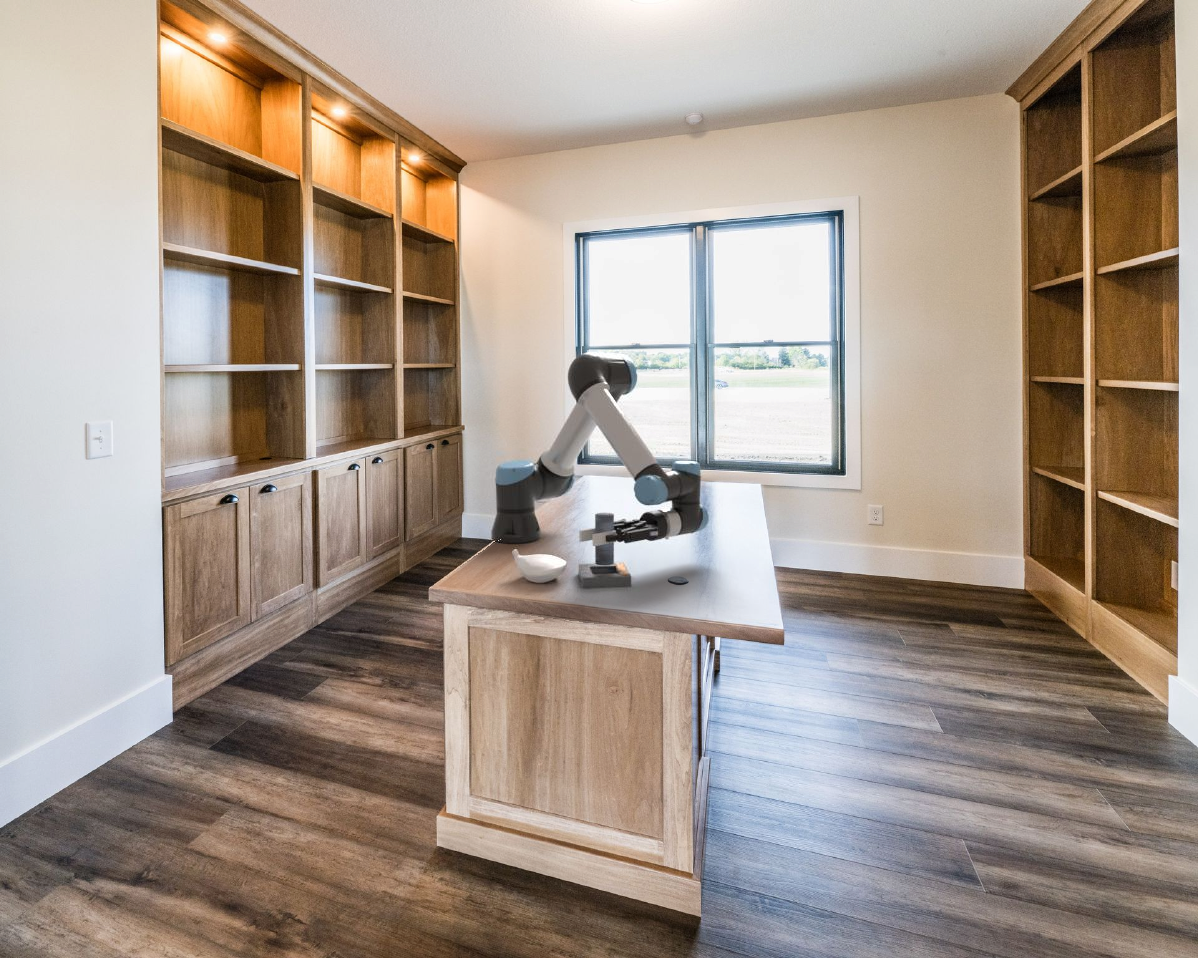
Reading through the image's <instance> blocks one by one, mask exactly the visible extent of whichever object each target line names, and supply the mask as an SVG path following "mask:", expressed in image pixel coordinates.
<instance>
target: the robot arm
mask: <svg viewBox="0 0 1198 958" xmlns="http://www.w3.org/2000/svg"><path fill="white" fill-rule="evenodd" d="M567 371H568V372H567V383H568V387H569V390H570V392H571V395H572V396H573V398H574V400H575V401H576V403H575V405H574V407H573V408H572V410H571V412H570V413H569V416H568V417H567V419H566V421H565V422H564V424H563V426H562V428H561V429H560V431H559V432H558V434H557V437H556V438H555V440H554V442H553V443H552V445H551V446H550V449H549V450H545V451H543V452H542V453H541V454H540V456H539V458H538V460H537V461H536V463H535V462H533V460H527V459H518V460H510V461H506V462H504V463H501V464H499V465H498V466H497V468H496V470H495V479H494V480H495V481H494V482H495V499H496V502H495V504H496V514H495V518H494V520H493V525H492V528H491V532H490V533H491V534H490V535H491V540H492V541H495V542H497V543H502V544H525V543H531V542H534V541H537V540H540V539H541V537H542V536H541V535H542V534H541V533H542V532H541V527H540V524H539V520H538V518H537V516H536V511H535V509H536V508H535V506H536V505H535V503H536V502H537V501H542V500H548V499H554V498H559V497H561V496H564V495H566V494H567V493H568V492H570V491H571V489H572V488H573V487H574V484H575V478H574V477H575V466H574V463H575V461H576V460H577V459H578V457H579V455H580V453H581V452H582V450H583V449H584V446H585V445H586V444H587V442H588V441H589V439H590V437H591V436H592V434H593V432H594V430H595V429H596V427H598V429H599V430H600V432H601V433H602V435H603V437H604V438H605V439H606V441H607V442H608V443H609V446H610V447H611V449H612V450H614V452H615V454H616V455H617V457H618V458H619V460H620V462H621V463H622V464H623V466H624V467H625V468H626V470H627V471H628V473H629V475H630V476H631V478H632V479H633V481H634V485H633V492H634V497H635V499H636V500H637V501H638V502H639V503H640V504H642V505H643V506H658V505H661V504H664V503H668V502H671V507H667V508H662V509H657V510H652V511H651V510H650V511H645V512H643V513H642V515H641V516H640V518H639V519H632V520H628V521H627V519H626V518H622V519H619V520H614V530H613V531H608V532H603V533H597V534H595V527H591V528H586V529H580V530H579V532H578V533H579V535H578V536H579V539H578V540H579V541H578V542H580V543H583V542H589V541H591V542H592V543H591V544H592V546H593V547H595V546H598V545H603V544H608V543H613V542H614V543H616V542H618V543H622V542H623V543H624V544H630V543H636V542H640V541H645V540H647V541H648V542H654V541H658V540H663V539H665V540H669V538H673V537H677V536H682V535H688V534H694V533H697V532H699V531H702V530H705V528H707V525H708V524H709V513H708V510H707V508H706V507H705V505H703V504H701V484H702V483H701V482H702V481H701V480H702V475H701V464H700V463H699V462H697V461H693V460H676V461H674V462H672V464H671V465H672V466H671V470H670V471H665V470H663V468H662V466H661V465H660V463H659V462H658V461H657V459H656V458H655V456H654V455H653V454H652V452H651V450H650V449H649V448H648V446H647V445H646V443H645V442H644V441H643V439H642V437H641V436H640V435H639V433H638V432H637V431H636V429H635V427H634V425H632V423H631V422H630V419H628V418H627V416H626V414H625V413H624V412H623V410H622V408H621V407H620V406H619V404H618V401H619V400H620V398H621V396H626V395H628V394H630V393H631V392H632V391H633V390H634V389H635V387H636V386H637V383H638V382H637V381H638V372H637V367H636V364H635V363H634V360H632V359H631V358H630V357H629V356H627V355H625V354H621V353H618V352H612V353H608V352H607V353H605V352H592V351H590V352H589V351H588V352H584V353H582V354H579V355H578V356H577V357H576V358H574V360H573V361H572V362H571V364H570V365H569V368H568V370H567ZM500 539H501V540H500ZM498 540H499V541H498Z"/></svg>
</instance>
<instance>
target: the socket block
mask: <svg viewBox="0 0 1198 958" xmlns="http://www.w3.org/2000/svg"><path fill="white" fill-rule="evenodd" d="M578 576H579V581H580V583H581V587H582V589H594V588H595V589H596V588H597V589H599V588H602V589H603V588H622V587H623V588H624V587H628V588H630V587H631V588H632V575H631V573H630V572H629V569H628V568H627V566H626V564H625V563H624V562H614V564H612V565H607V566H602V565H597V564H596V563H578Z"/></svg>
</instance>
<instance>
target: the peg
mask: <svg viewBox="0 0 1198 958" xmlns="http://www.w3.org/2000/svg"><path fill="white" fill-rule="evenodd" d="M594 515H595V516H594V528H595V534H597V533H603V532H608V531H613V530H614V521H615V518H614V517H615V513H611V512H597V513H595V514H594ZM594 549H595V550H594V551H595V553H594V559H595V561H594V564H597V565H602V566H607V565H612V564H614V563H615V542H613V543H608V544H603V545H598V546H594Z"/></svg>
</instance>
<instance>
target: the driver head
mask: <svg viewBox="0 0 1198 958" xmlns="http://www.w3.org/2000/svg"><path fill="white" fill-rule="evenodd" d="M511 554H512V556H513V557H514V561H515V566H516V567H517V569H518V571H519V573H520V574H521V575H522V576H523V577H524V578H525V579H526V580H527V581H529V582H532V583H537V584H544V583H548V582H550V581H552V580H553V581H554V580H555V579H557V578H559V577H560V576H562V575H563V574H564V573H565V571H566V569H567V566H568V563H567V561H566V560H564V559H562V558H561V557H558V556H556V555H551V554H541V553H539V554H537V553H536V554H527V555H520V554H519V551H518V549H513V550H512V551H511Z"/></svg>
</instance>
